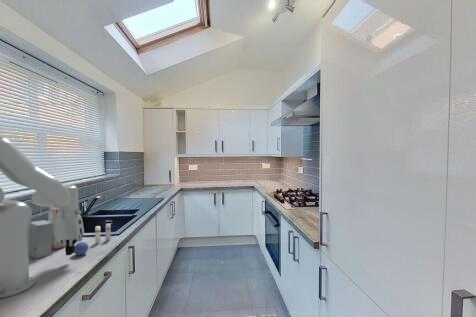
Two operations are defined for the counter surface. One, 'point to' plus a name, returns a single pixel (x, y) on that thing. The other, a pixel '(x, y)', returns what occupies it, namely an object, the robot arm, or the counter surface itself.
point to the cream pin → (97, 234)
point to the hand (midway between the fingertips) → (70, 253)
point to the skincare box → (40, 238)
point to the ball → (81, 248)
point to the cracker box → (52, 218)
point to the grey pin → (108, 232)
